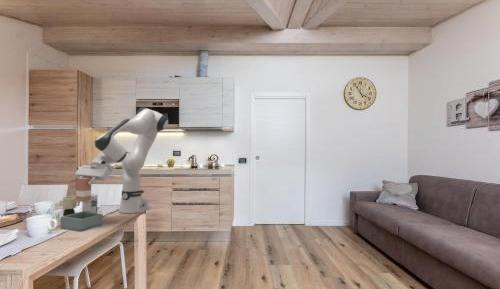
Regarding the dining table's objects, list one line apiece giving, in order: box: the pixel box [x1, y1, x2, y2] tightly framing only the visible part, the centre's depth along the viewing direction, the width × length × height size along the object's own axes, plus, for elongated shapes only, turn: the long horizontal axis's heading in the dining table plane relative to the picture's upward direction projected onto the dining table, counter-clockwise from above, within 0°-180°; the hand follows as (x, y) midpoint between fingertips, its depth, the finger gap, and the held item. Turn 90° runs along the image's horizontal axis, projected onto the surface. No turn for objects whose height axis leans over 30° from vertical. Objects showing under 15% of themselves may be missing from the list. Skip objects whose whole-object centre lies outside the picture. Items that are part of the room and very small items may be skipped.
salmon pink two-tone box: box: [75, 177, 92, 202], centre depth 156 cm, size 5×5×12 cm
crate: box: [59, 211, 104, 232], centre depth 156 cm, size 14×14×6 cm
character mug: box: [59, 196, 81, 216], centre depth 169 cm, size 11×7×13 cm, turn 98°
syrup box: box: [81, 193, 99, 213], centre depth 172 cm, size 6×6×14 cm
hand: (83, 184), depth 156 cm, fingers closed on salmon pink two-tone box, 5 cm apart
